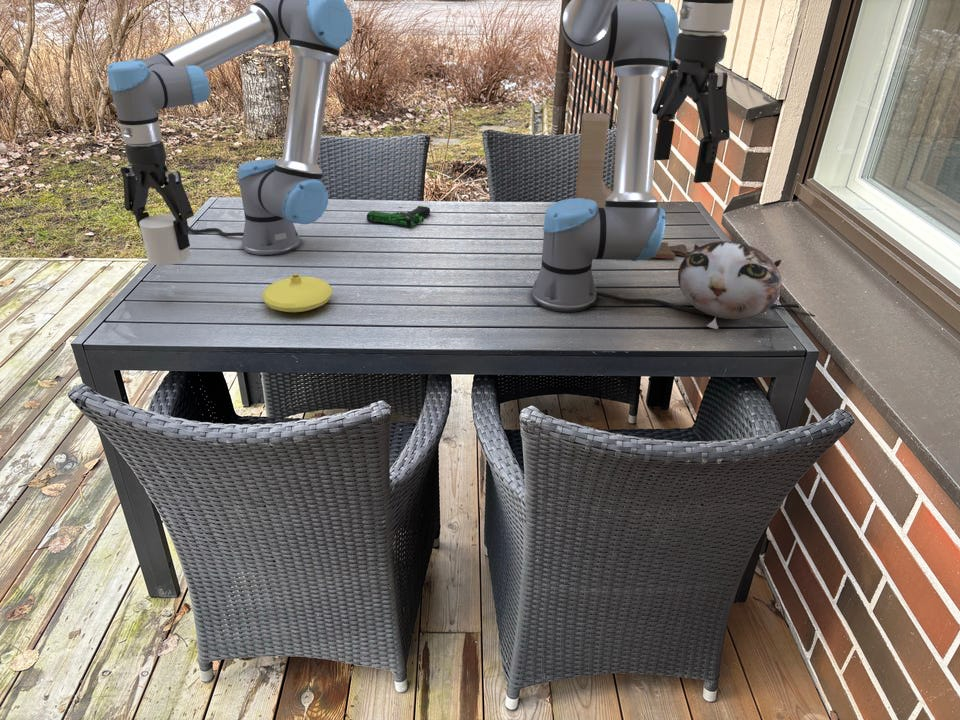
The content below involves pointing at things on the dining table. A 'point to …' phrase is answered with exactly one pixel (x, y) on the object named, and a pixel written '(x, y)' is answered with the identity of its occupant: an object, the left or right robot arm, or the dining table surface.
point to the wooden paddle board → (670, 251)
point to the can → (162, 240)
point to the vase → (297, 294)
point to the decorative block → (592, 159)
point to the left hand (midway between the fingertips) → (166, 244)
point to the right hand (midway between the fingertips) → (680, 170)
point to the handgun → (400, 217)
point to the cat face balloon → (729, 280)
